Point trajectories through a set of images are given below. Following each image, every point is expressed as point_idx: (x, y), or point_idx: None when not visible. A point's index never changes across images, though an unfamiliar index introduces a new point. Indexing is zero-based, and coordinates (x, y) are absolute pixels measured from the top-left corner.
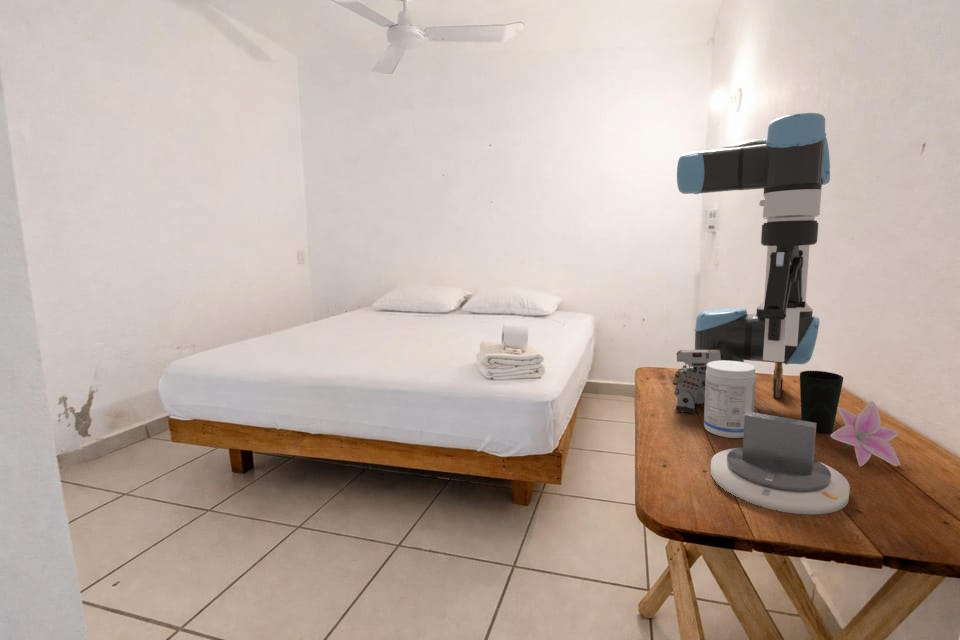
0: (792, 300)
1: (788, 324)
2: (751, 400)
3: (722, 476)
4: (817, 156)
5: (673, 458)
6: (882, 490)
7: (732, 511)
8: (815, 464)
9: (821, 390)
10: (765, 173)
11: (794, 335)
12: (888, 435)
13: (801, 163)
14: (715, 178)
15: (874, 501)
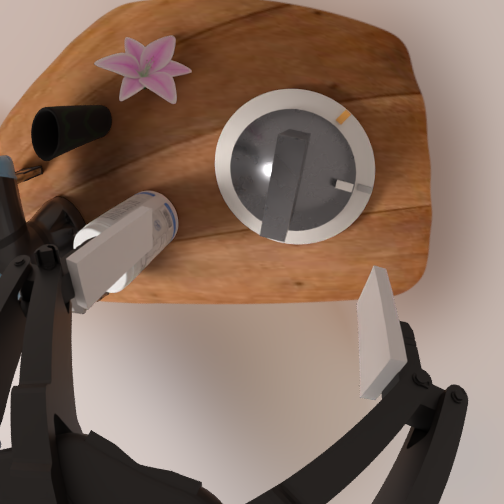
0: (62, 301)
1: (116, 259)
2: (132, 211)
3: (335, 233)
4: None
5: (273, 275)
6: (258, 53)
7: (388, 219)
8: (268, 123)
9: (71, 127)
10: None
11: (134, 227)
12: (134, 45)
13: None
14: None
15: (296, 65)
